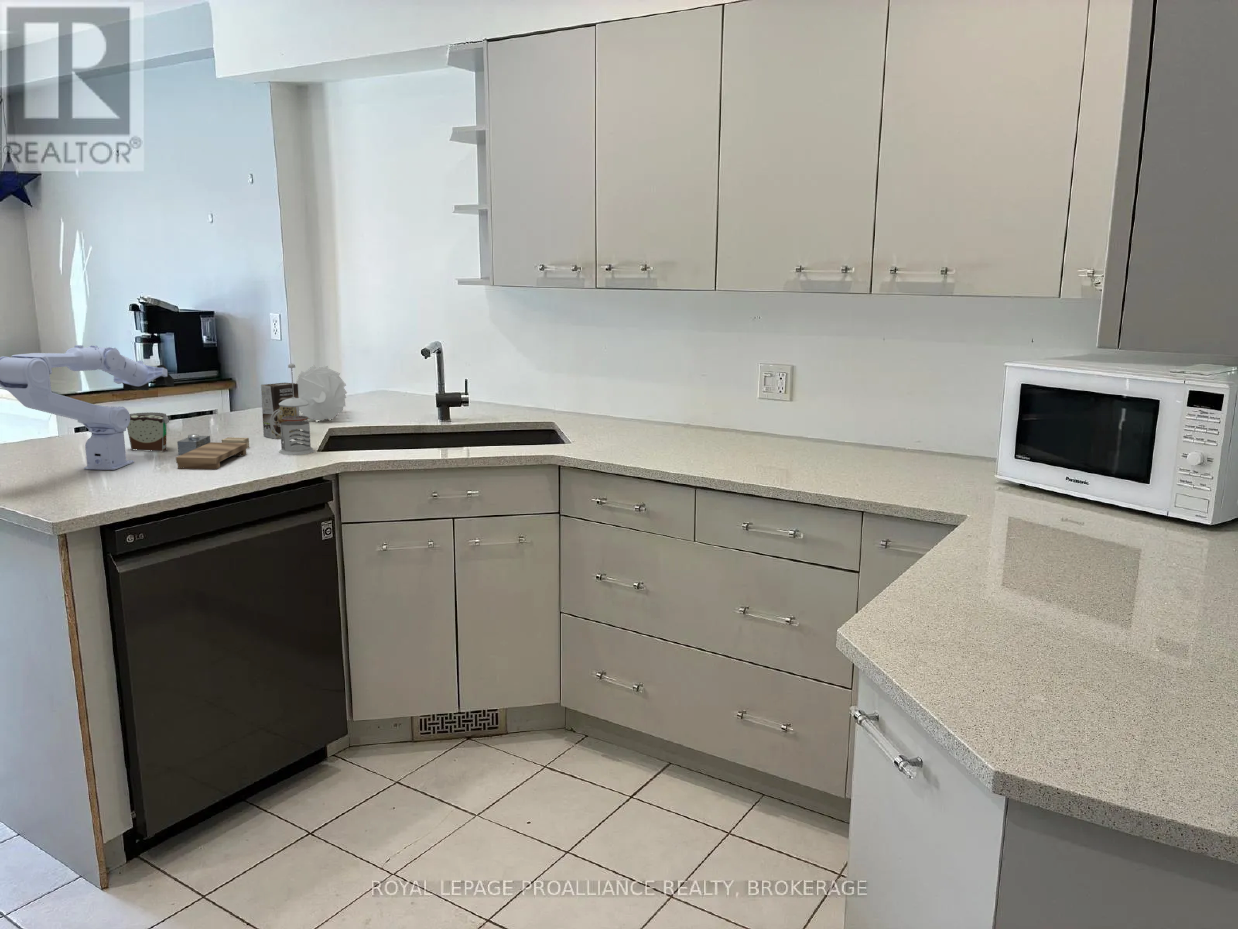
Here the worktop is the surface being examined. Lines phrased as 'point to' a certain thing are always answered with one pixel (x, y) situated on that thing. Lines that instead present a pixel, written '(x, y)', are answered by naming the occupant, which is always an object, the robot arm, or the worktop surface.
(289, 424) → the french press
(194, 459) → the stand
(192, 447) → the block
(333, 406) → the spiral staircase
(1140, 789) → the worktop surface
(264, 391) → the coffee box
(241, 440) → the beech offcut
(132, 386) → the robot arm
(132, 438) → the food container
